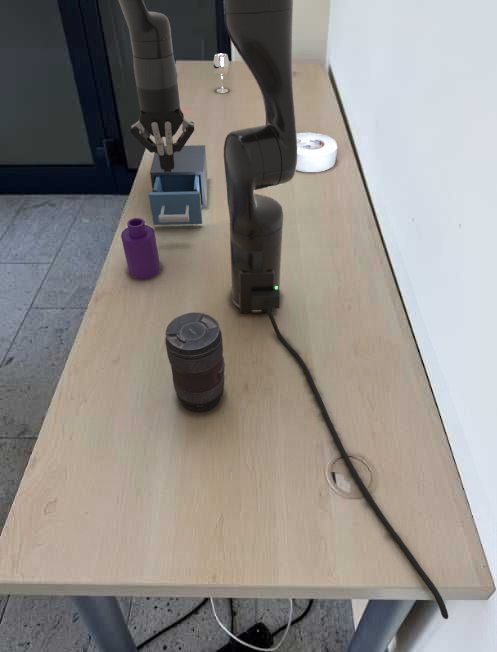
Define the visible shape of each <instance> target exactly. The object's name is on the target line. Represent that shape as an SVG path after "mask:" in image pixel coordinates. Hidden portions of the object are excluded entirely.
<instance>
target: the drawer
mask: <svg viewBox="0 0 497 652" xmlns="http://www.w3.org/2000/svg"><path fill="white" fill-rule="evenodd" d="M148 199H149V206H150V212H151V217H152V224H153V226H173V225H178V226H179V225H203V208H201V185H200V175H157V176H156V180H155V184H154V189H153V190H152V191H151V192H148Z"/></svg>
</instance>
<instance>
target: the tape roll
mask: <svg viewBox="0 0 497 652" xmlns="http://www.w3.org/2000/svg"><path fill="white" fill-rule="evenodd" d="M296 135H297V167H296V171H298V172H302V173H319V172H324V171H327V170H330V169H331V168H333V167H334V166H335V164H336V161H337V160H336V159H337V153H338V143H337V141H336V140H335V138H333V137H331V136H329V135H326V134H322V133H318V132H310V131H309V132H306V131H305V132H296Z"/></svg>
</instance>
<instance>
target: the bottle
mask: <svg viewBox="0 0 497 652" xmlns="http://www.w3.org/2000/svg"><path fill="white" fill-rule="evenodd" d="M126 226H127V227H125V229H123V230H122V232H121V235H120V237H121V238H120V239H121V243H122V247H123V251H124V256H125V260H126V265H127V270H128V274H129V275H130V276H131V277H132V278H134V279H138V280H147V279H151V278H154V277H155V276H157V275H158V274H159V273H160V270H161V264H160V263H161V262H160V257H159V251H158V245H157V239H156V232H155V229H154V228H153V227H152V226H150V225H148V224H146V221H145V220H144V219H143V218H140V217H134V218H130V219H129V220H128V221H127V223H126Z"/></svg>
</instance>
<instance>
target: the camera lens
mask: <svg viewBox="0 0 497 652" xmlns="http://www.w3.org/2000/svg"><path fill="white" fill-rule="evenodd" d="M164 341H165V342H164V344H165V348H166V355H167V358H168V361H169V364H170V368H171V369H170V370H171V375H172V384H173V388H174V392H175V394H176V397H177V399H178V401H179V402H180V404H181V405H182V407H183V408H184V409H185V410H187V411H188V412H191V413H195V414H204V413H207V412H210V411H212V410H214V409H215V408H216V407H217V406H218V405H219V403H220V402H221V399H222V397H223V393H224V389H225V388H224V387H225V369H226V368H225V367H226V363H225V358H224V346H223V344H224V343H223V333H222V330H221V328H220V324H219V321H217V320H216V319H215V318H214V317H213V316H211V315H210V314H206V313H204V312H186V313H184V314H181V315H179V316H176V317H175V318H173V320H171V321H170V322H169V323H168V325H167V326H166V329H165V338H164Z"/></svg>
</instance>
